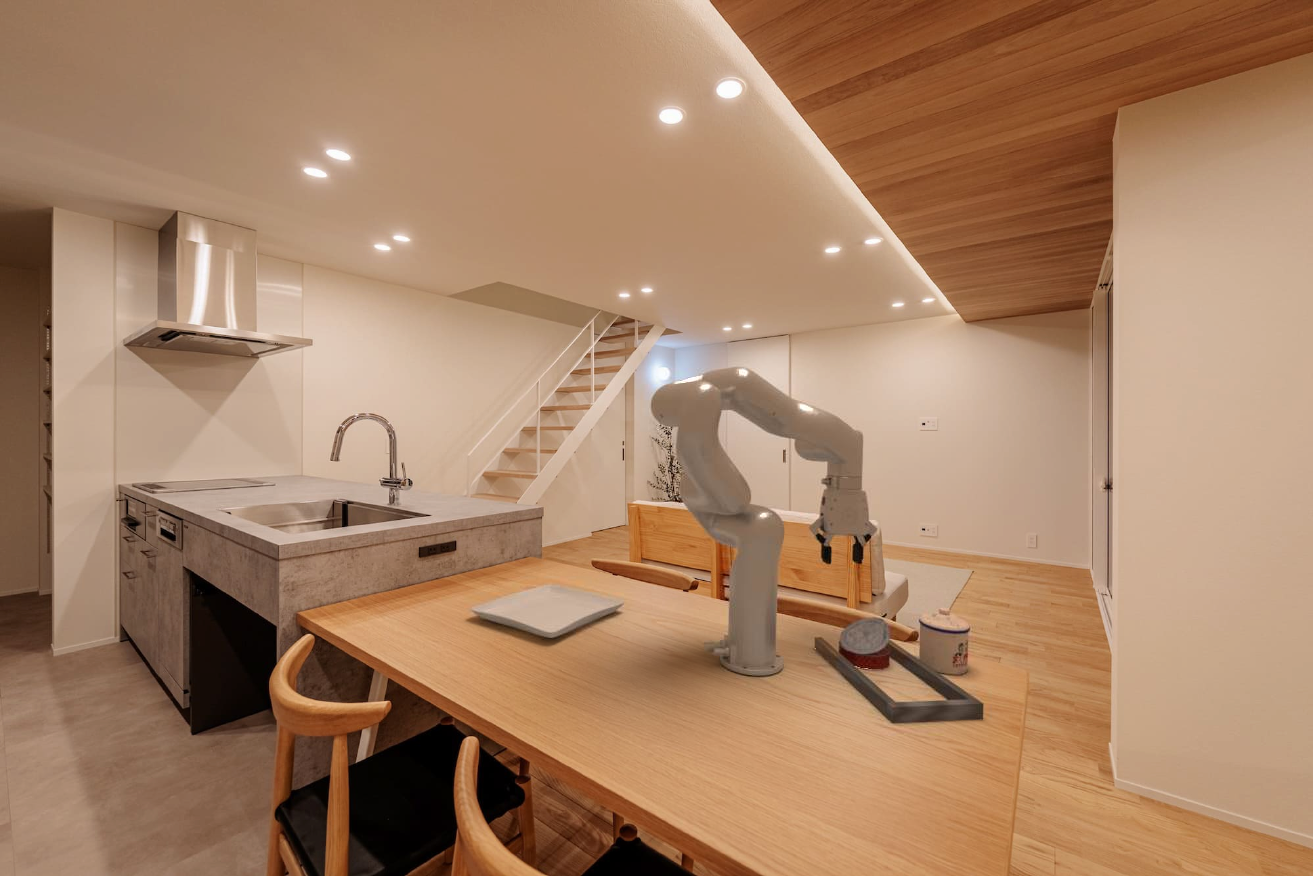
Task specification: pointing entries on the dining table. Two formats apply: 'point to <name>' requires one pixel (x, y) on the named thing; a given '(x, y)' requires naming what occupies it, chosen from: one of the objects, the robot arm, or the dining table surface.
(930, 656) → the teacup with lid
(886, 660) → the canned food
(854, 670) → the can dock
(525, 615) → the square plate
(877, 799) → the dining table surface
